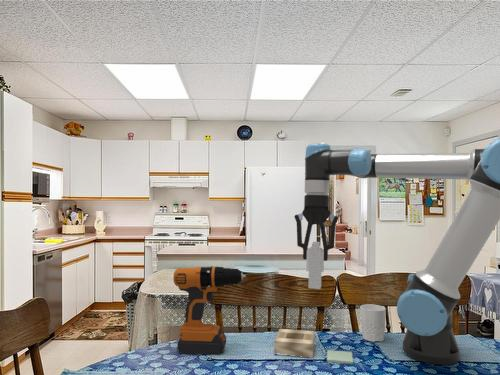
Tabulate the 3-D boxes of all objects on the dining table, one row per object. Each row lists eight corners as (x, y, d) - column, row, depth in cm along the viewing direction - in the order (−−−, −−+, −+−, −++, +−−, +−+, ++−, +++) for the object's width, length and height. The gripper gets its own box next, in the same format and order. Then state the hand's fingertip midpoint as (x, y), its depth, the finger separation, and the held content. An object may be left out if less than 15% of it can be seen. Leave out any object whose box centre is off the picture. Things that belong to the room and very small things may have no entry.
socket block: (314, 344, 119) (314, 331, 119) (312, 358, 108) (312, 344, 108) (279, 341, 121) (279, 328, 121) (274, 354, 110) (274, 340, 110)
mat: (351, 354, 111) (351, 352, 111) (353, 364, 104) (353, 361, 104) (327, 352, 112) (327, 350, 112) (326, 361, 106) (326, 359, 106)
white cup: (365, 332, 130) (365, 302, 130) (389, 337, 125) (388, 306, 125) (357, 339, 123) (356, 308, 124) (381, 344, 119) (381, 312, 119)
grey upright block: (321, 285, 119) (322, 242, 119) (320, 290, 113) (321, 244, 114) (309, 284, 120) (310, 241, 120) (308, 288, 114) (309, 243, 114)
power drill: (246, 346, 117) (246, 264, 118) (244, 355, 110) (245, 268, 111) (177, 344, 118) (177, 263, 119) (171, 354, 111) (171, 267, 112)
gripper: (344, 195, 119) (343, 270, 118) (291, 193, 123) (289, 266, 122) (344, 195, 111) (343, 275, 111) (288, 193, 115) (286, 271, 115)
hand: (315, 270), depth 116 cm, fingers closed on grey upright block, 4 cm apart
